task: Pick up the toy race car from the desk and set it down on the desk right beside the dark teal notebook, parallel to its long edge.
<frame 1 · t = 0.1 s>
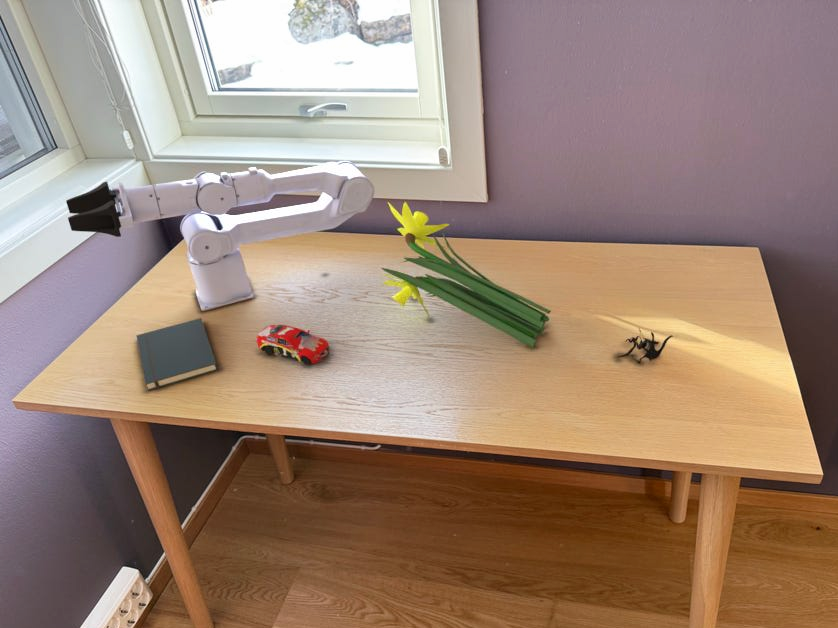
hand: (68, 215, 124), 22 cm above the table, tool horizontal, fingers open, 7 cm apart
creature: (640, 356, 122), on the table
race car: (295, 352, 128), on the table
daffodil flowers: (467, 314, 134), on the table
notebook: (177, 355, 128), on the table
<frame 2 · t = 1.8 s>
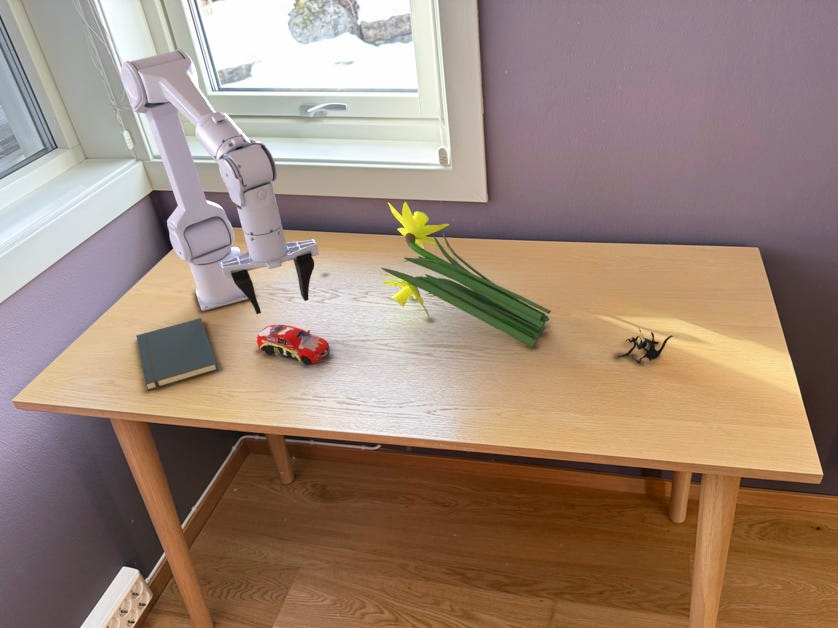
hand: (281, 304, 122), 10 cm above the table, tool pointing down, fingers open, 7 cm apart
nothing on the table moved.
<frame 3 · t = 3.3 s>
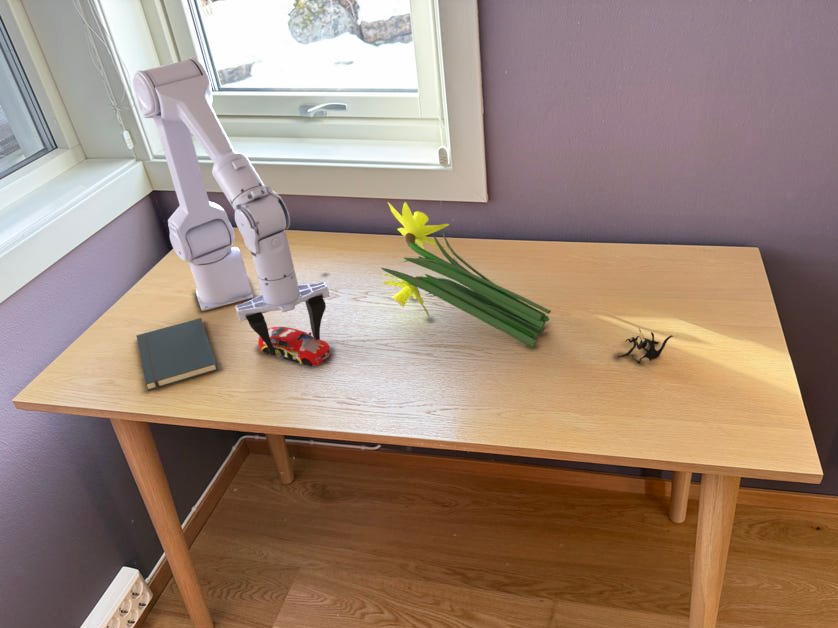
hand: (294, 343, 126), 2 cm above the table, tool pointing down
race car: (296, 354, 128), on the table, touching gripper
everything else where it was.
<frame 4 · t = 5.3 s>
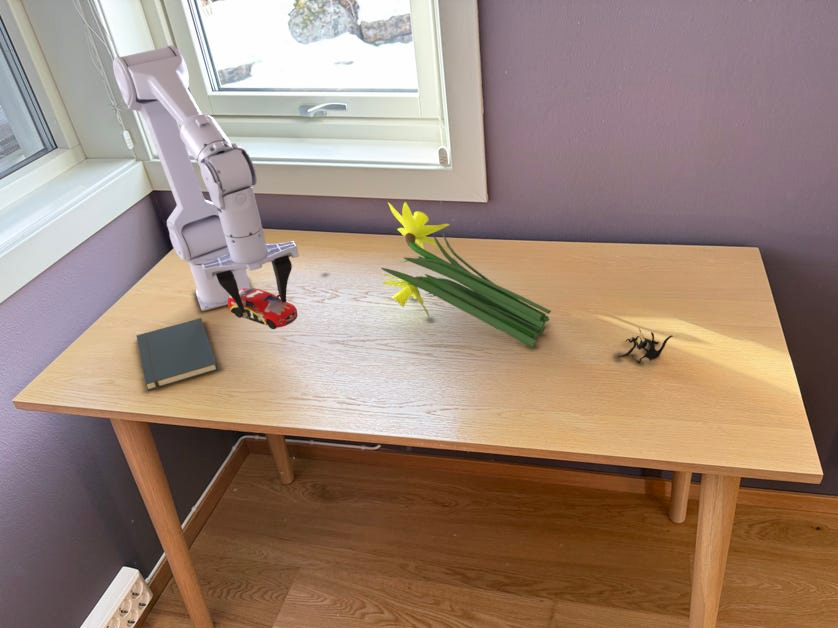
hand: (262, 304, 124), 8 cm above the table, tool pointing down, fingers closed on race car, 6 cm apart
race car: (264, 317, 127), point 5 cm above the table, touching gripper
everything else where it was.
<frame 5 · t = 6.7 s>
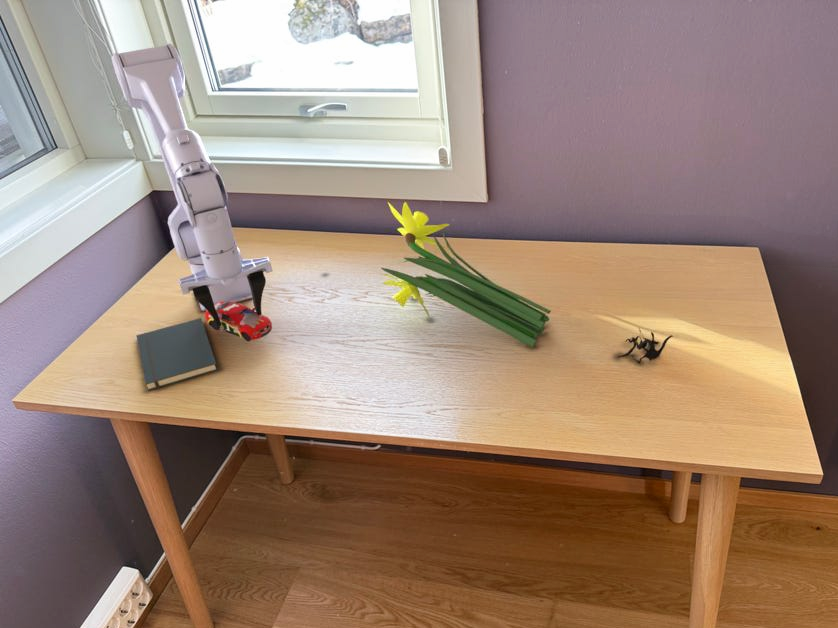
hand: (238, 317, 129), 4 cm above the table, tool pointing down, fingers closed on race car, 6 cm apart
race car: (240, 329, 131), point 1 cm above the table, touching gripper
everything else where it was.
when the fingers open (3 cm above the table, at t = 7.7 s): race car stays where it is, on the table.
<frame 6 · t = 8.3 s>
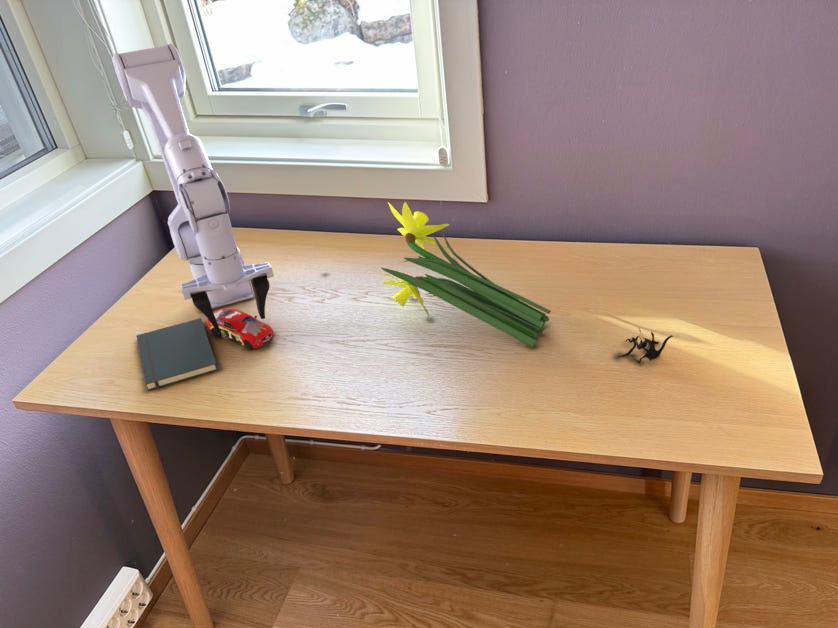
hand: (239, 322, 130), 3 cm above the table, tool pointing down, fingers open, 7 cm apart
race car: (242, 336, 132), on the table
everything else where it was.
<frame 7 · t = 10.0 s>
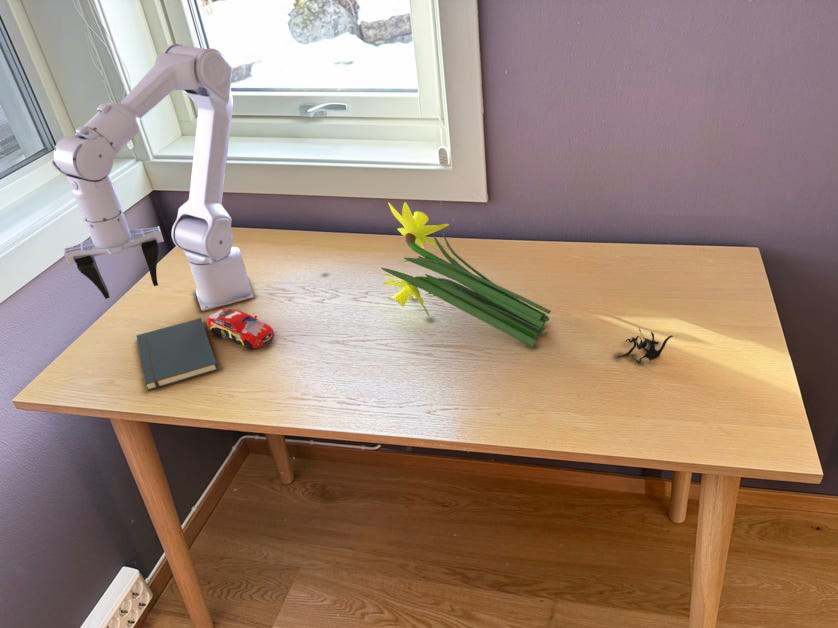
hand: (131, 289, 126), 10 cm above the table, tool pointing down, fingers open, 7 cm apart
nothing on the table moved.
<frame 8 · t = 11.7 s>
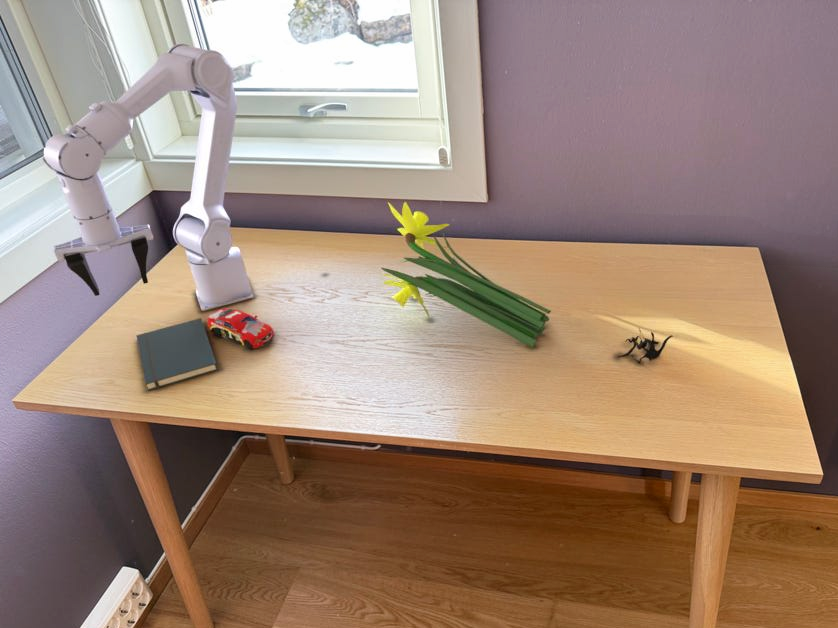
hand: (121, 286, 127), 10 cm above the table, tool pointing down, fingers open, 7 cm apart
nothing on the table moved.
at the end: race car inside the target area (1.2 cm from its centre), on the table; race car 11.1 cm from the notebook (horizontally); race car tilted 0° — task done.
